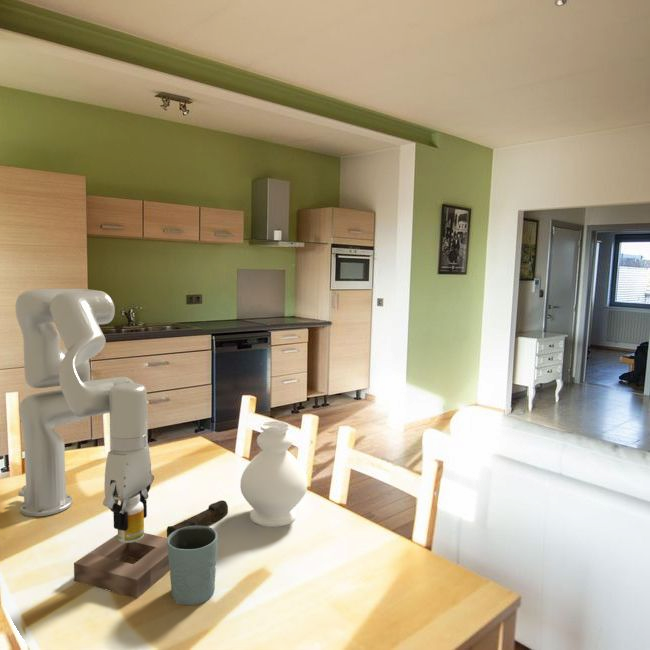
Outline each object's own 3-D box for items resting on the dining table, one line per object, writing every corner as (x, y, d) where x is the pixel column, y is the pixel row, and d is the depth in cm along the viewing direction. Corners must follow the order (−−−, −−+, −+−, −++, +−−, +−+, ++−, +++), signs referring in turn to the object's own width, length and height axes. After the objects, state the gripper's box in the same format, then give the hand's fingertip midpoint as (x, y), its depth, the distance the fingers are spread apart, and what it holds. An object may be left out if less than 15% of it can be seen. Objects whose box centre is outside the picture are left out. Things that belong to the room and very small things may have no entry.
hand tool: (175, 545, 129) (175, 527, 129) (165, 540, 132) (165, 522, 131) (234, 517, 144) (234, 501, 144) (224, 513, 147) (224, 496, 146)
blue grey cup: (192, 614, 104) (191, 555, 103) (156, 596, 109) (155, 539, 108) (227, 588, 113) (228, 533, 111) (193, 572, 118) (192, 520, 117)
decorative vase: (265, 539, 133) (266, 440, 130) (227, 513, 146) (228, 423, 143) (320, 518, 145) (322, 427, 142) (280, 495, 158) (281, 412, 155)
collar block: (74, 580, 114) (73, 563, 113) (126, 544, 129) (125, 528, 128) (137, 598, 108) (136, 579, 108) (183, 558, 123) (183, 541, 123)
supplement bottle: (149, 533, 119) (148, 491, 118) (133, 545, 114) (132, 501, 113) (129, 529, 121) (128, 487, 120) (112, 540, 116) (111, 497, 115)
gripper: (140, 428, 125) (142, 503, 127) (84, 452, 109) (87, 537, 111) (168, 432, 122) (169, 509, 124) (115, 457, 106) (117, 545, 108)
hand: (130, 521), depth 117 cm, fingers closed on supplement bottle, 5 cm apart
